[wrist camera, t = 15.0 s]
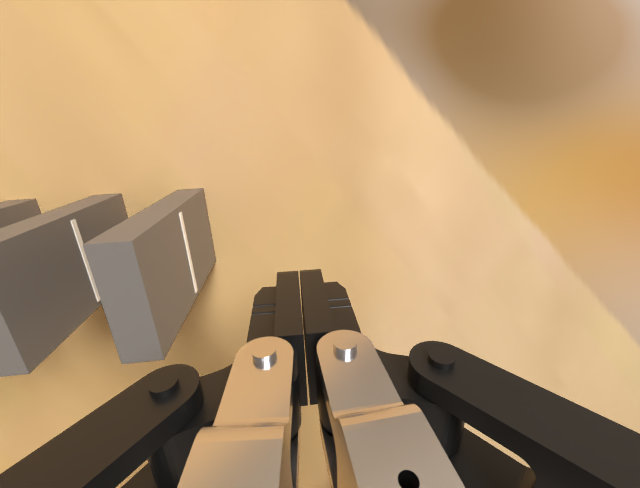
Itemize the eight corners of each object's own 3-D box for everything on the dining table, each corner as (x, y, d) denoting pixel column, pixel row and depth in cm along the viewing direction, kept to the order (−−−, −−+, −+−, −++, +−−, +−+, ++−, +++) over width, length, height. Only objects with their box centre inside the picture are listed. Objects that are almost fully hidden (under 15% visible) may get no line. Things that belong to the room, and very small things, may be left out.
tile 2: (141, 266, 21) (30, 373, 12) (115, 268, 21) (-18, 378, 12) (122, 193, 20) (-26, 252, 10) (93, 195, 20) (-83, 257, 10)
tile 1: (216, 260, 22) (165, 359, 12) (191, 262, 22) (120, 364, 12) (204, 188, 20) (133, 241, 11) (176, 190, 20) (80, 244, 11)
